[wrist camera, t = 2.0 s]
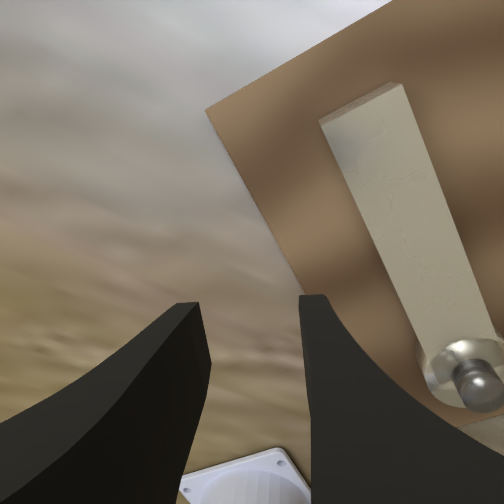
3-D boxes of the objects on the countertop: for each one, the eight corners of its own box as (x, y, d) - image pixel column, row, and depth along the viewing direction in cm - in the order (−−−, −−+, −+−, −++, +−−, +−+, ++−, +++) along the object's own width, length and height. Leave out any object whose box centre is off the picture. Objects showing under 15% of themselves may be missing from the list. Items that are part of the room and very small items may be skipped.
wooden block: (510, 363, 21) (547, 416, 17) (430, 388, 22) (452, 441, 19) (402, 74, 16) (428, 77, 13) (306, 125, 17) (309, 139, 14)
